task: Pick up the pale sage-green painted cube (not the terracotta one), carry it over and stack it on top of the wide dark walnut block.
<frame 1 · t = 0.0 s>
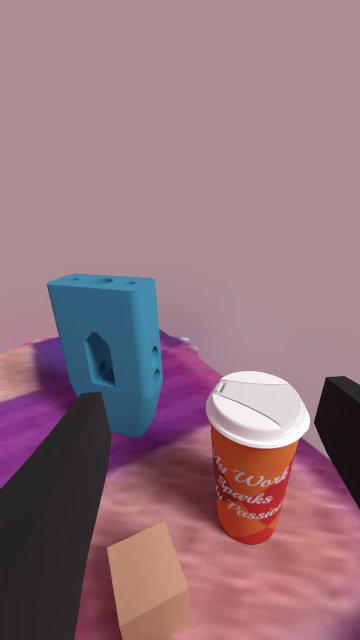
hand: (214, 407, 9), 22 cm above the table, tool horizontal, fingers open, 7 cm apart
block: (122, 420, 39), on the table
paper cup: (246, 514, 27), on the table
terracotta cube: (151, 603, 21), on the table
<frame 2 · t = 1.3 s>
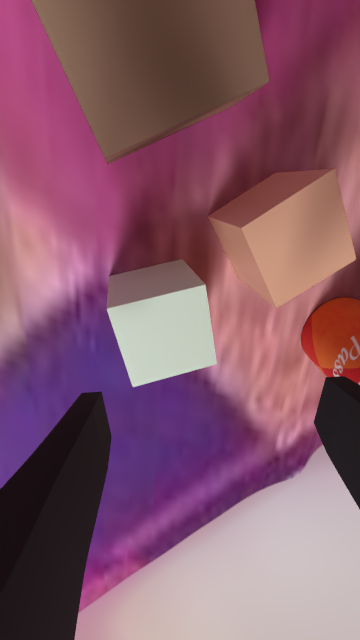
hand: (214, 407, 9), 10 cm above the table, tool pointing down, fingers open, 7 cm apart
sage cube: (154, 300, 18), on the table
walnut base: (139, 49, 13), on the table
paper cup: (331, 329, 22), on the table
terracotta cube: (254, 229, 17), on the table
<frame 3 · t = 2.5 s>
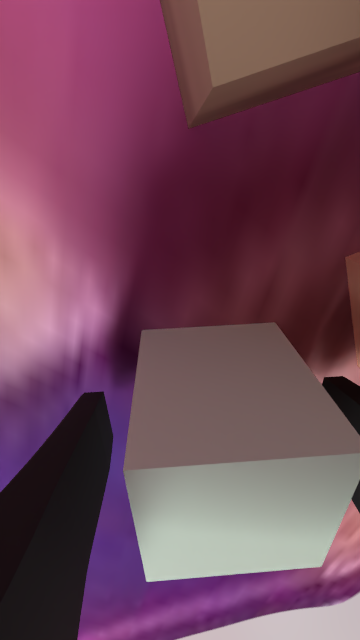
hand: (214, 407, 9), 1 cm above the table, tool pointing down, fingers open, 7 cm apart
sage cube: (207, 377, 10), on the table
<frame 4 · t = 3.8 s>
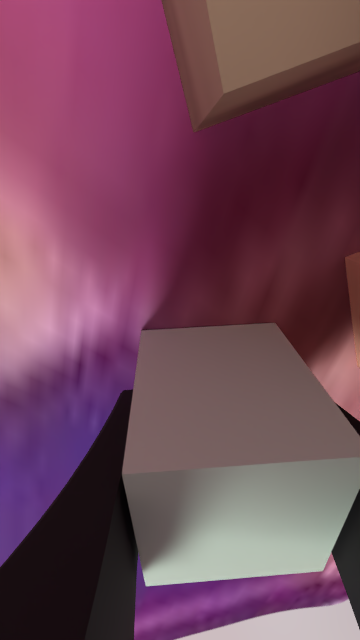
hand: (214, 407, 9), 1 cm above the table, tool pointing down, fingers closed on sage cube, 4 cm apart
sage cube: (207, 379, 10), on the table, touching gripper
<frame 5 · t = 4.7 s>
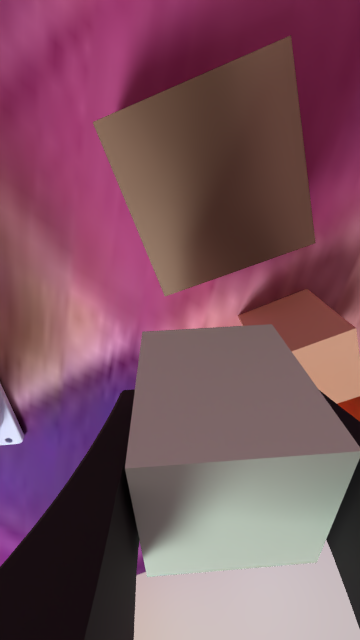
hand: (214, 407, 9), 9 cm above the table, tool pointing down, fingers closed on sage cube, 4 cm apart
sage cube: (207, 378, 11), point 7 cm above the table, touching gripper
walnut base: (203, 185, 14), on the table
terracotta cube: (279, 330, 19), on the table
when the fingers open (7 cm above the table, at t = 6.3 s): sage cube drops 2 cm, resting on walnut base.
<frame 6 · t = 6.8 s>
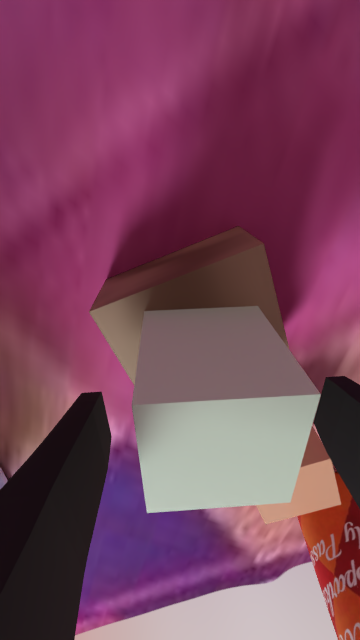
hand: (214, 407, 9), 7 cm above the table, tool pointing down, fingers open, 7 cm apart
sage cube: (200, 355, 12), point 4 cm above the table, touching walnut base
walnut base: (194, 310, 15), on the table, touching sage cube
paper cup: (322, 490, 24), on the table
terracotta cube: (265, 422, 20), on the table
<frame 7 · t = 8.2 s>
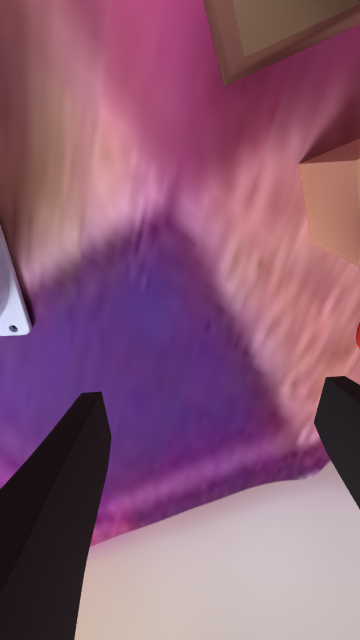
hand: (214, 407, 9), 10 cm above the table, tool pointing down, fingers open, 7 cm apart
terracotta cube: (344, 190, 16), on the table
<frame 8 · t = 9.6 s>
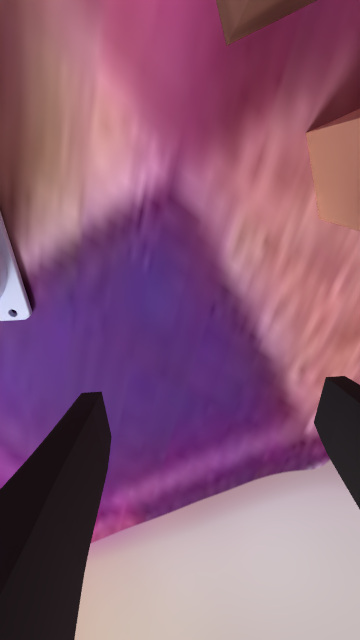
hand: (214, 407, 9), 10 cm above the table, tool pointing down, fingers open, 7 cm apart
terracotta cube: (354, 161, 15), on the table
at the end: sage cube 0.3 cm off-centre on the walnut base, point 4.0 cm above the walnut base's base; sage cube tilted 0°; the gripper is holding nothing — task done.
